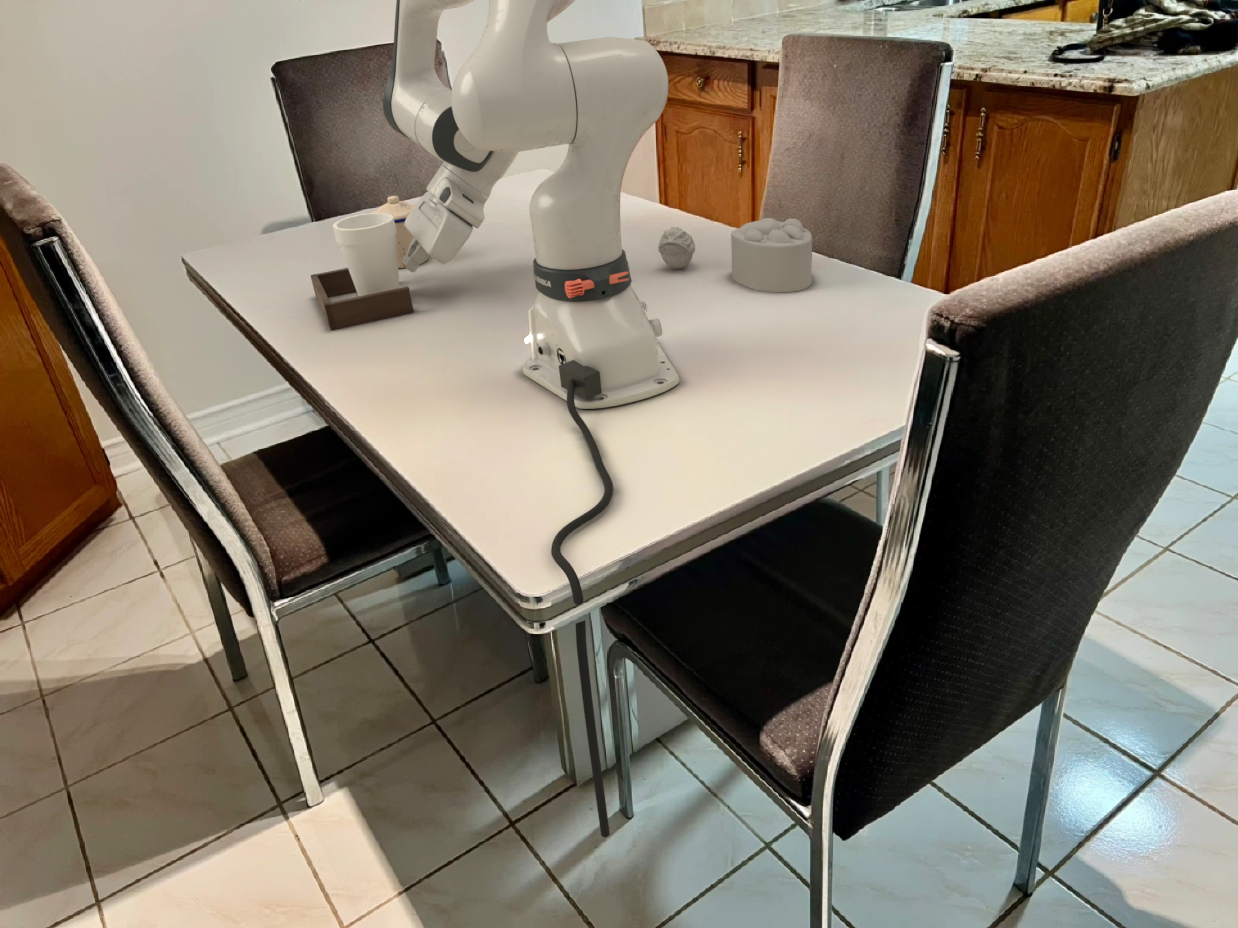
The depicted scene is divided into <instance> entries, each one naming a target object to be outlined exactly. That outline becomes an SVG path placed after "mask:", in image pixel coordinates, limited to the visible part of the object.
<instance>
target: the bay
mask: <svg viewBox="0 0 1238 928" xmlns="http://www.w3.org/2000/svg"><path fill="white" fill-rule="evenodd" d="M310 280H311V283H312V287H313V291H314V295H315V298H316V301H317V303H318V305H319V307H320V310H321V312H322V314H323V316H324V319H325V322H326V323H327V326H328V329H330V331H334V330H339V329H344V328H347V327H352V326H353V327H354V326H357V325H361V324H362V325H363V324H367V323H370V322H377V321H380V320H385V319H388V318H389V319H390V318H393V317H398V316H403V315H407V314H412V313H414V312H415V311H414V310H415V309H414V305H413V301H412V296H411V290H410V287H409V285H408V286H403V287H399V288H397V289H392V290H388V291H383V292H378V293H373V294H368V295H364V296H355V297H350V298H345V299H340V300H336V301H335V300H334V301H330V299H329V298H330V297H336V296H340V295H345V294H351V293H355V292H356V293H357V291H356V288H355V285H354V283H353V280H352V278H351V275H350V272H349V270H348V267H344V268H339V269H335V270H330V271H323V272H319V273H314V274H310Z"/></svg>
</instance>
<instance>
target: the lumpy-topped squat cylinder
mask: <svg viewBox="0 0 1238 928" xmlns="http://www.w3.org/2000/svg"><path fill="white" fill-rule="evenodd" d="M730 234H731V236H730V240H731V241H730V242H731V243H730V244H731V245H730V246H731V247H730V248H731V278H732V280H733V281H734V282H736V283H738V284H740V285H741V286H744V287H747V288H749V289H751V290H756V291H758V292H759V291H760V292H770V293H794V292H800V291H803V290H806V289H808V288H809V287H810V286H811V284H812V272H813V271H812V269H813V265H812V264H813V235H812V234H811V232H810V230H809V229H806V228H804V227H803V224H802V222H801V221H800V220H798V219H797V218H788V219H786V220H785V221H777V220H776V219H774V218H773V217H765V218H762V219H760V220H755V221H751V222H746V223H744V224H743V225H742V226H740V227H739V228H736V229H734V230H733V231H731V233H730Z"/></svg>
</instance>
